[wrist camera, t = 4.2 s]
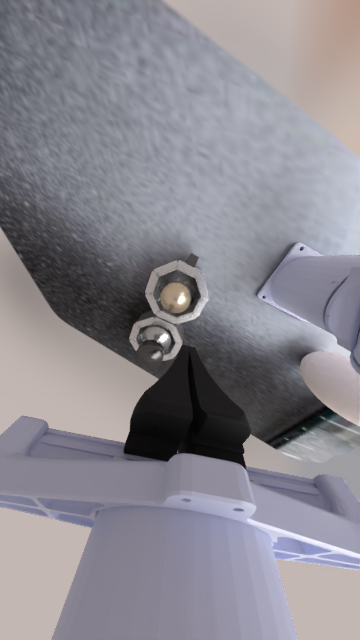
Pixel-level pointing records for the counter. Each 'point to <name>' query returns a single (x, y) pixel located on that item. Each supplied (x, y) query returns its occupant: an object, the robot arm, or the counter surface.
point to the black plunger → (153, 346)
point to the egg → (333, 383)
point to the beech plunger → (177, 293)
